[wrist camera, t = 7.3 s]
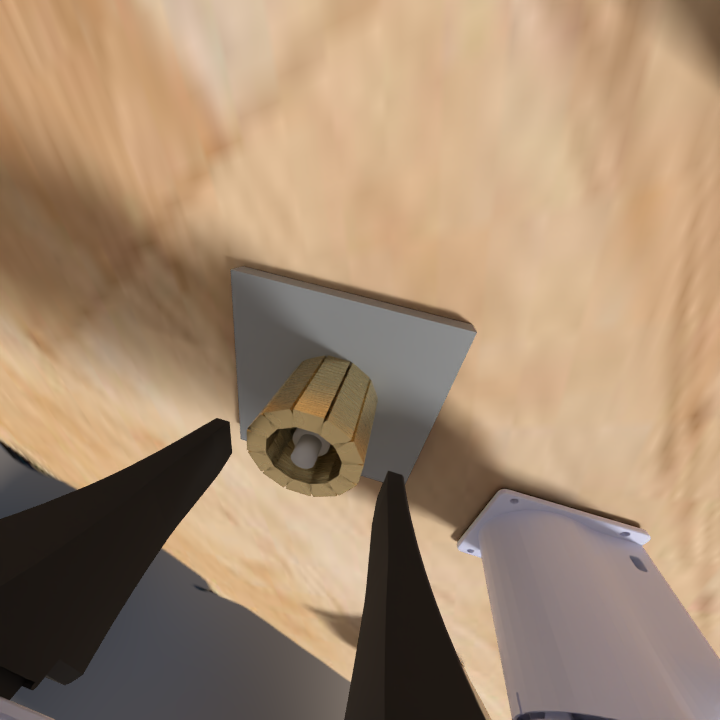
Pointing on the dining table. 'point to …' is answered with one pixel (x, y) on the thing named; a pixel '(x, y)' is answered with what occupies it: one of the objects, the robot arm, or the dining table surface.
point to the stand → (352, 343)
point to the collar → (316, 426)
